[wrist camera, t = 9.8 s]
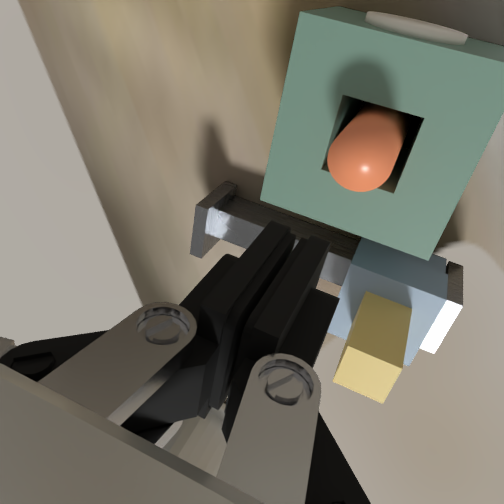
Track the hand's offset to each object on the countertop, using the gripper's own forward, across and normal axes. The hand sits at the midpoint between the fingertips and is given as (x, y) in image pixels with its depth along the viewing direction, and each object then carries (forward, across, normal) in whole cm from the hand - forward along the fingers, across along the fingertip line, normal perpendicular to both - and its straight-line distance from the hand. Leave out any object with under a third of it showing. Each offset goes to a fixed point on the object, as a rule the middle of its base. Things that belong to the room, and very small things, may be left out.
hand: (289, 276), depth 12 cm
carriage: (+21, -4, +11) cm, 24 cm away
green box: (+21, 0, 0) cm, 21 cm away
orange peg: (+18, 0, 0) cm, 18 cm away
